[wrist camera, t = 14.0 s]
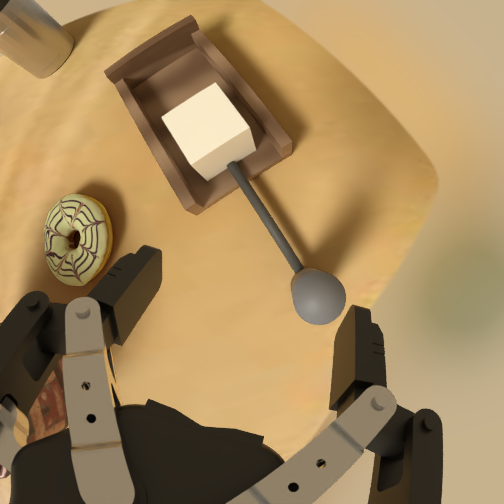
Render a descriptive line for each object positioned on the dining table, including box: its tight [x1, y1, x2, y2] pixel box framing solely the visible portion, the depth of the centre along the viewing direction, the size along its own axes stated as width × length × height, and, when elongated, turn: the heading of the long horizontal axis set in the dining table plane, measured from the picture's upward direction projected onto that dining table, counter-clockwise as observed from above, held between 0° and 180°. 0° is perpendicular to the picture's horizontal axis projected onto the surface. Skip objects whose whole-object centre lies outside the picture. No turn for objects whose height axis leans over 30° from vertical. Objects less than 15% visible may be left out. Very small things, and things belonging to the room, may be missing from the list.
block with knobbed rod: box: [161, 82, 346, 325], centre depth 26 cm, size 22×6×10 cm, turn 32°
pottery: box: [0, 323, 69, 479], centre depth 26 cm, size 18×18×18 cm
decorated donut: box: [43, 194, 113, 286], centre depth 33 cm, size 10×11×4 cm
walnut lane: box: [104, 15, 292, 215], centre depth 30 cm, size 20×12×6 cm, turn 32°
